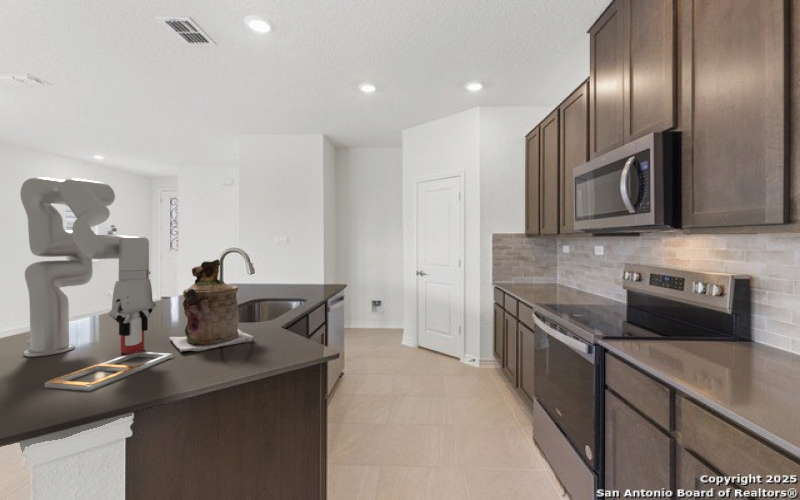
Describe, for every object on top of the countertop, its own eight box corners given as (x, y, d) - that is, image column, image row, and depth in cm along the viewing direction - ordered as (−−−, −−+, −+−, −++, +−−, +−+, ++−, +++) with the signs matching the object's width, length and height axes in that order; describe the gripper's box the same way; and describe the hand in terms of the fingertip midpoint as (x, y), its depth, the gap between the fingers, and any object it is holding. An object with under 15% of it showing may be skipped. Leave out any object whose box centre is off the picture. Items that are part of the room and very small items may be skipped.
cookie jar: (234, 330, 151) (234, 257, 150) (255, 342, 133) (255, 259, 132) (167, 340, 134) (167, 258, 134) (181, 356, 116) (180, 261, 115)
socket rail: (44, 387, 91) (44, 381, 91) (136, 354, 117) (136, 350, 117) (89, 390, 88) (89, 385, 88) (173, 357, 115) (173, 353, 115)
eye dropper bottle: (119, 345, 107) (119, 306, 106) (137, 340, 112) (137, 303, 112) (129, 346, 106) (129, 307, 105) (147, 341, 111) (147, 304, 111)
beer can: (131, 354, 117) (131, 319, 117) (115, 353, 118) (115, 318, 118) (149, 349, 123) (148, 315, 123) (134, 347, 125) (133, 314, 124)
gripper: (147, 272, 117) (147, 325, 118) (95, 277, 100) (95, 339, 101) (167, 273, 116) (166, 327, 117) (117, 279, 99) (117, 341, 100)
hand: (133, 332), depth 109 cm, fingers closed on eye dropper bottle, 5 cm apart
